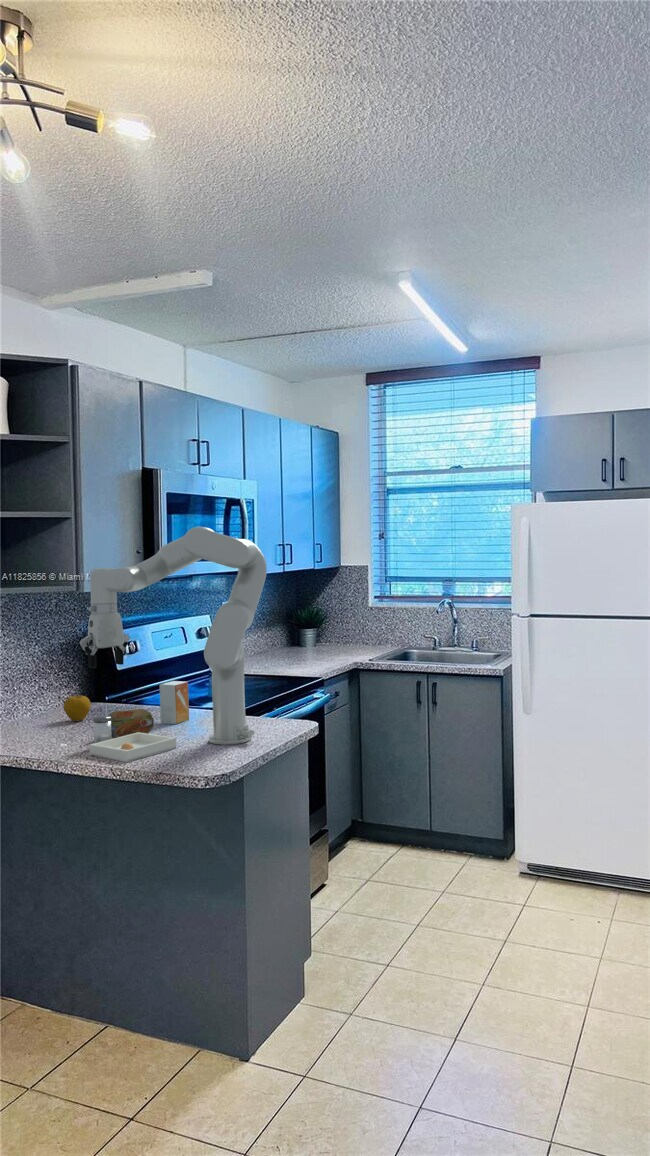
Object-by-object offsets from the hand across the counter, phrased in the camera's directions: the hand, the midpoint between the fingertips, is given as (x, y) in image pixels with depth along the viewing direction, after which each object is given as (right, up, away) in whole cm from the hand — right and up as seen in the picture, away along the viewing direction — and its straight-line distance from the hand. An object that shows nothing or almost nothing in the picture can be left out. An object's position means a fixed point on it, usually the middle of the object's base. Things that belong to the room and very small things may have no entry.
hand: (106, 666), depth 252 cm
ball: (+11, -21, -21) cm, 31 cm away
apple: (-19, -23, +35) cm, 46 cm away
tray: (+11, -23, -13) cm, 29 cm away
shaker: (+1, -23, -7) cm, 24 cm away
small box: (+16, -22, +28) cm, 39 cm away
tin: (+5, -23, +7) cm, 24 cm away
